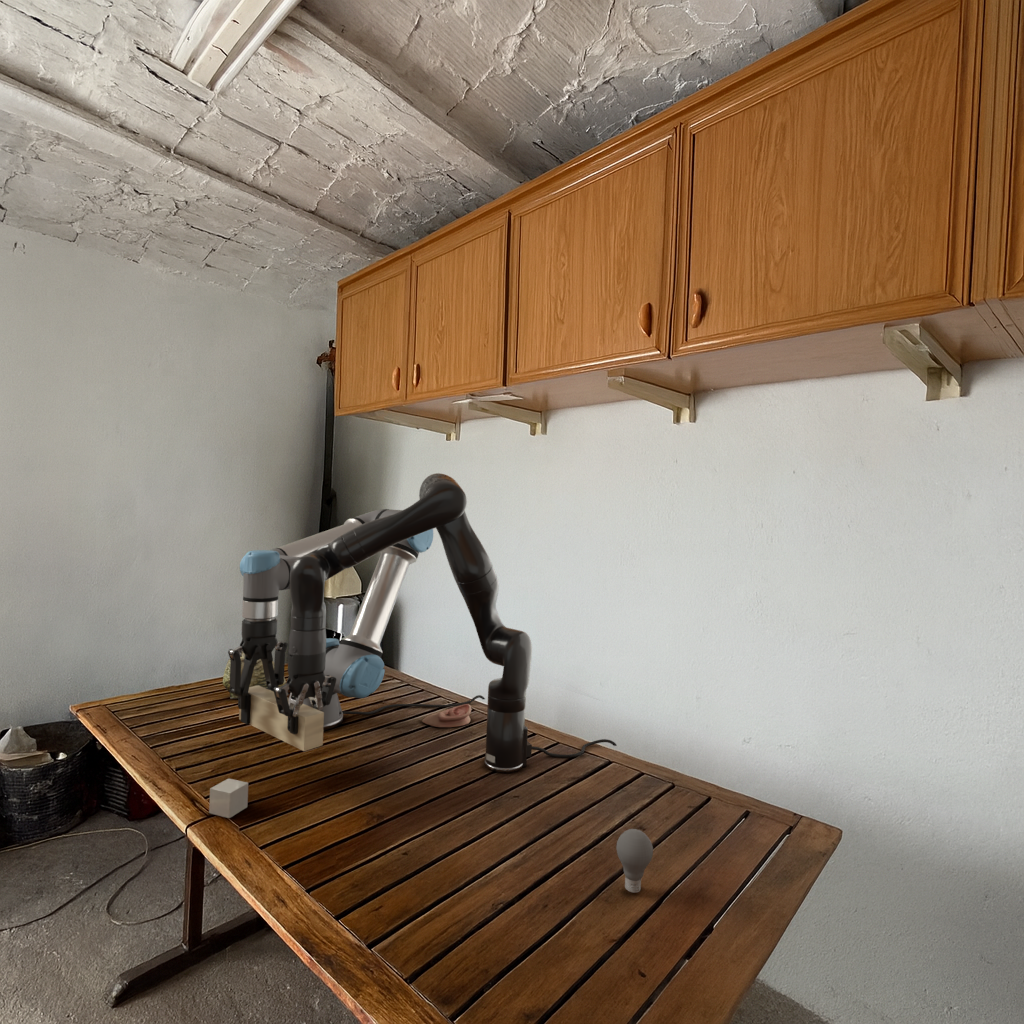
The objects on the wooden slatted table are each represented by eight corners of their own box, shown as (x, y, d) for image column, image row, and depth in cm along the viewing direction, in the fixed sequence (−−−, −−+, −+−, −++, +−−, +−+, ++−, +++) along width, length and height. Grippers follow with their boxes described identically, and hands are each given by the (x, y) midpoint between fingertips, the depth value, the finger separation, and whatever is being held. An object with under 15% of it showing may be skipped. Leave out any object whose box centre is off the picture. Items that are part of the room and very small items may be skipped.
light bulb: (610, 879, 108) (613, 822, 108) (644, 879, 109) (647, 822, 109) (619, 902, 102) (622, 840, 102) (655, 901, 103) (658, 840, 103)
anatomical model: (418, 710, 178) (431, 698, 189) (418, 724, 178) (431, 711, 189) (464, 716, 175) (474, 703, 186) (463, 730, 175) (474, 716, 186)
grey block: (227, 802, 130) (228, 778, 130) (247, 807, 128) (248, 782, 128) (208, 813, 125) (209, 788, 125) (229, 818, 123) (230, 793, 123)
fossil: (218, 695, 195) (220, 647, 195) (278, 685, 208) (279, 640, 207) (228, 703, 189) (230, 653, 188) (289, 692, 201) (290, 645, 201)
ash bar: (238, 719, 145) (239, 689, 145) (257, 714, 149) (258, 685, 149) (303, 751, 129) (305, 717, 129) (322, 745, 133) (324, 712, 132)
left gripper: (285, 611, 154) (282, 707, 154) (213, 620, 140) (210, 725, 140) (303, 616, 149) (299, 714, 149) (230, 625, 135) (227, 734, 136)
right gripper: (325, 641, 141) (322, 717, 141) (266, 651, 129) (263, 734, 130) (346, 647, 136) (343, 726, 136) (286, 658, 125) (283, 744, 125)
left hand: (256, 719), depth 145 cm, fingers closed on ash bar, 4 cm apart
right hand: (304, 729), depth 133 cm, fingers closed on ash bar, 4 cm apart
